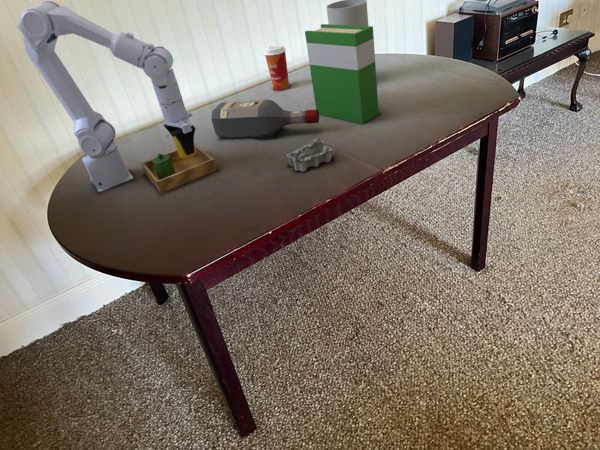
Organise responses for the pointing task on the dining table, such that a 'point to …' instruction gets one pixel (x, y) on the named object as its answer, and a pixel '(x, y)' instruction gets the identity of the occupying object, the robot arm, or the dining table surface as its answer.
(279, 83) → the paper cup
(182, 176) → the wooden tray
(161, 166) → the green pepper
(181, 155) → the yellow pepper
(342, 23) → the cylinder vase
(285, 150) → the dining table surface
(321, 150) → the egg carton
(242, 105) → the liquor
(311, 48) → the hardback book
